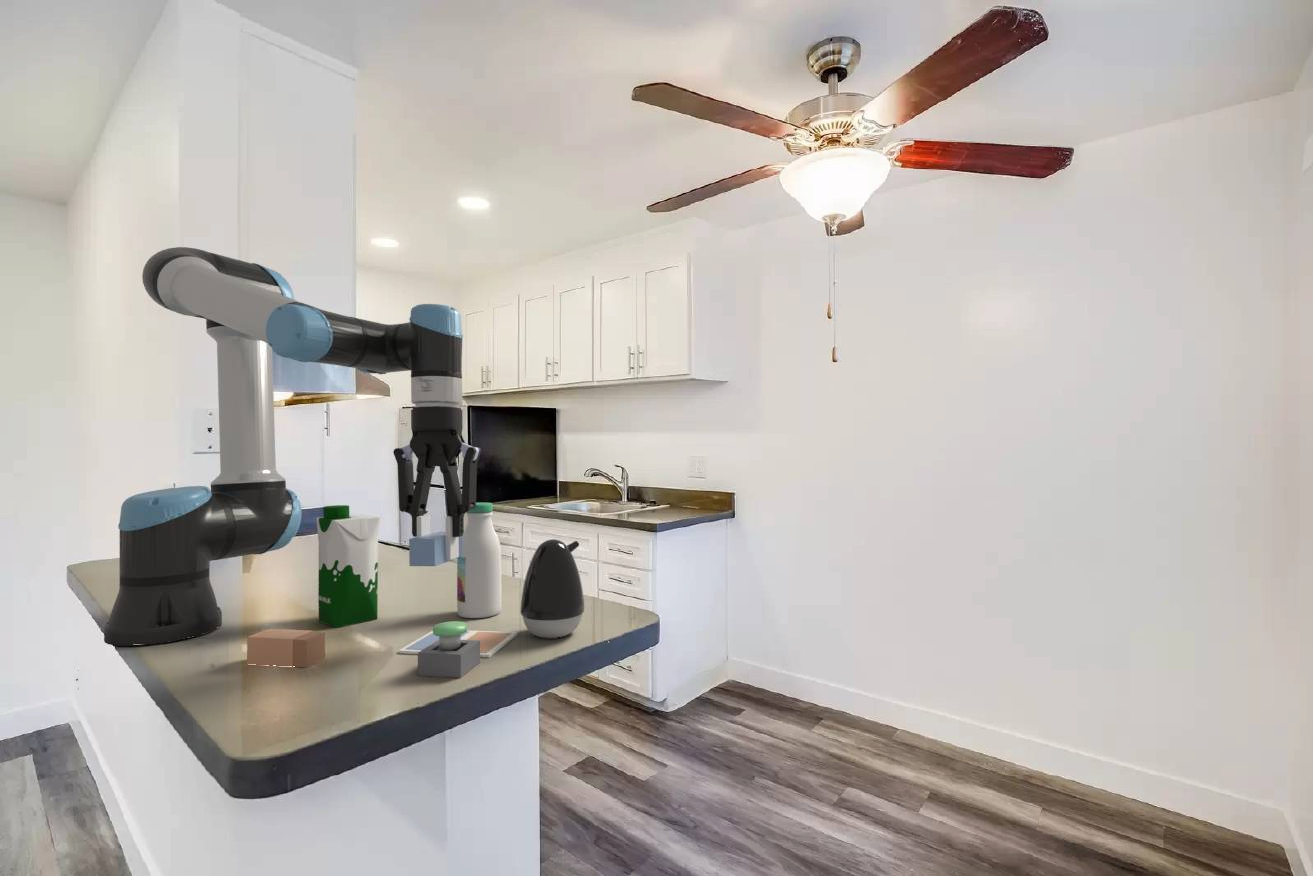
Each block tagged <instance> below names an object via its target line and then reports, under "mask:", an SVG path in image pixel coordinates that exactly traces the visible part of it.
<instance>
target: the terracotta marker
mask: <svg viewBox="0 0 1313 876" xmlns="http://www.w3.org/2000/svg"><path fill="white" fill-rule="evenodd" d="M325 659H326V632H325V631H314V630H309V629H307V630H306V629H305V630H304V629H302V630H301V629H285V628H284V629H282V628H281V629H280V628H267V629H265V630H261V631H260V632H257V633H255V634H251V635H249V636H247V637H246V665H247V664H256V665H269V666H273V665H276V666H292V667H293V666H295V667H303V668H302V669H308V668H310V667H312V666H314V665H316V664H317V663H320V662H322V661H324V660H325ZM309 666H310V667H309ZM307 667H308V668H307ZM293 668H294V667H293Z"/></svg>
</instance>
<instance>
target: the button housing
mask: <svg viewBox="0 0 1313 876" xmlns="http://www.w3.org/2000/svg"><path fill="white" fill-rule="evenodd" d="M480 663H481V657H480V641H476V640H461V646H460V647H459V648H456V649H451V650H443V649H440V648H439V640H437V641H436V642H434V643H433V644H431V645H429V646H428V647H426V648H425V649H423V650H421V651H420V652H418V654H417V676H419V677H420V676H422V677H437V678H438V677H439V678H441V677H442V678H456V679H457V678H459V679H461V678H463V677H465V675H466V674H467V673H470V671H471V670H473V669H474V668H475V667H476V666H477V665H479V664H480Z"/></svg>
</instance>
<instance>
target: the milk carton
mask: <svg viewBox="0 0 1313 876" xmlns="http://www.w3.org/2000/svg"><path fill="white" fill-rule="evenodd" d="M322 509H323V511H322V512H323V514H322V515H323V516H322V517H320V516H319V517H316V519H315V520H316V528H317V529H316V531H317V539H318V585H317V586H318V595H317V596H318V597H317V598H318V600H317V601H318V622H321V623H324V624H327V625H328V626H331V627H333V628H341V627H346V626H351V625H357V624H361V623H366V622H371V621H373V620H378V603H379V602H378V593H379V592H378V591H379V589H378V588H379V587H378V586H379V585H378V578H379V577H378V576H379V574H378V573H379V571H378V570H379V569H378V568H379V567H378V566H379V565H378V564H379V562H378V561H379V558H378V557H379V534H380V533H379V532H380V524H381V523H380V522H381V516H374V515H369V514H368V515H365V514H354V515H353V514H352V515H351V514H350V505H345V504H344V505H343V504H341V505H325V506H323V507H322Z"/></svg>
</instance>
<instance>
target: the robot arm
mask: <svg viewBox="0 0 1313 876" xmlns="http://www.w3.org/2000/svg"><path fill="white" fill-rule="evenodd" d="M142 284H143V286H144V290H145V291H146V293H147V294H148V296H149V297H150V299H152V300H153V301H154V302H155V303H156V304H158V305H159V306H161V307H163V308H164V309H166V310H169V311H172V312H175V313H177V314H180V315H182V316H188V317H195V318H199V319H205V325H206V331H205V332H206V334H207V335H208V336H210V337H211V338H212V339H213V340H214V341H215V342H216V352H217V353H216V354H217V355H216V356H217V360H216V361H217V389H218V391H217V393H218V395H217V396H218V398H217V399H218V426H219V432H218V433H219V461H220V462H219V466H220V467H219V468H220V469H219V470H220V472H219V475H217V476H216V477H215V478H214V479H213V480H212V481H211V482H210V488H209V486H206V485H205V486H203V485H192V486H191V485H188V486H182V487H181V486H180V487H171V488H170V487H169V488H162V489H157V490H150V491H145V492H141V493H138V494H137V493H136V494H134V495H131V496H129V497H127V498H126V499H125V500H124V501H123V502H122V504H121V506H120V515H119V516H120V517H119V523H118V529H119V589H118V593H117V596H116V598H115V601H114V603H113V607H112V609H111V613H110V616H109V620H108V621H107V622H106V623H105V624H104V628H103V629H104V630H103V637H104V638H103V642H104V643H105V644H107V645H111V646H116V647H117V646H118V647H134V646H133V644H150V645H157V643H159V644H164V643H163V642H166V643H170V642H169V641H172V642H177V640H178V641H181V640H180V639H183V638H187V639H189V638H188V637H191V638H193V637H192V636H195V637H199V636H202V635H204V634H203V633H206V632H208V633H211V632H213V631H215V630H214V629H216V628H217V627H219V628H221V626H222V625H221V624H223V623H222V622H223V621H222V619H223V618H222V617H223V611H222V609H221V607H220V606H218V603H217V599H216V598H217V597H216V595H215V593H214V589H213V586H212V584H211V580H210V562H212V561H219V560H225V559H232V558H238V557H243V556H250V555H263V554H265V553H267V552H273V551H276V550H280V549H283V548H284V547H287V546H288V544H290V542H291V541H292V539H294V538H295V536H296V535H297V532H298V531H299V528H300V526H301V522H302V511H303V510H302V505H301V501H300V500H299V499H298V496H297V494H296V493H295V492H294V491H293V490H291V489H288V488H287V486H286V483H287V482H286V478H285V477H283V476H282V475H281V474H280V473H279V472H278V471H277V464H276V463H277V462H276V461H277V460H276V437H275V435H276V433H275V430H276V429H275V404H274V403H275V402H274V401H275V400H274V372H273V371H274V370H273V369H274V368H273V367H274V364H273V353H274V354H276V355H277V356H279V357H281V358H285V359H290V360H294V361H297V362H301V363H316V364H325V365H326V364H327V365H332V366H333V365H335V366H339V367H345V368H352V369H357V370H358V371H360V372H361V373H364V374H376V375H377V374H378V375H386V374H388V373H398V372H406V371H407V372H408V371H410V393H411V395H410V397H411V398H410V399H411V401H410V402H411V404H413V405H414V407H412V409H411V410H410V428H411V433H412V437H411V439H410V441H409V444H407V445H405V446H403V447H395V448H394V449H393V455H394V458H395V461H396V463H397V465H396V466H397V481H398V482H397V484H398V486H397V487H398V488H397V489H398V503H399V504H398V506H399V511H400V512H401V513H407V514H409V515H410V517H411V534H412V536H413V537H412V538H415V537H419V536H423V535H427V534H431V515H430V514H428V512H429V511H428V510H427V505H428V499H429V495H430V489H431V483H432V477H433V473H434V472H435V469H436V467H439V470H440V471H439V472H441V474H442V478H443V482H444V487H445V492H446V497H447V503H448V507H449V508H448V509H449V512H450V513H447V514H448V516H445V532H446V560H451V561H453V560H452V559H454V558H457V559H458V557H459V537H460V536H463V533H464V531H465V530H464V529H465V527H464V524H465V523H464V517H465V514H467V512H470V511H472V510H475V508H476V503H477V481H478V480H477V478H478V477H477V476H478V461H479V459H480V455H481V453H482V449H481V447H478V446H471V445H469V444H467V443H466V442H465V441H466V440H465V439H464V437H463V430H464V429H463V426H464V425H463V409H462V408H461V407H459V406H460V405H462V404H463V402H464V401H463V375H462V371H463V370H462V368H463V365H462V361H463V338H464V335H463V329H462V317H461V316H462V315H461V313H460V311H459V310H458V309H456V308H454V307H453V306H450V305H445V304H439V303H437V304H436V303H421V304H420V303H419V304H417V305H415V306H413V307H412V308H411V309H410V317H409V319H408V320H409V321H408V322H404V323H395V324H387V323H381V322H376V321H371V320H369V319H368V320H366V319H362V318H358V317H353V316H347V315H344V314H340V313H336V312H331V311H328V310H324V309H321V308H319V307H315V306H313V305H310V304H306V303H304V302H301V301H299V300H296V299H295V296H294V292H293V288H292V287H291V285H290V283H289V282H288V280H287V279H286V278H285V277H283V275H282V274H281V273H279V272H278V271H276V270H274V269H270V268H268V267H266V266H264V265H261V264H259V263H256V262H248V261H245V260H240V259H235V258H233V257H229V256H225V255H222V254H217V253H213V252H208V251H206V250H204V249H200V248H199V249H198V248H194V247H188V246H176V247H170V248H165V249H162V250H160V251H157V252H156V253H155V254H153V255H151V256H150V258H148V260H147V261H146V263H145V264H144V266H143V270H142ZM461 453H462V454H461ZM460 454H461V456H462V458H463V461H462V474H461V475H462V477H461V478H462V479H461V480H462V481H461V483H462V484H460V479H459V474H458V470H459V468H458V467H459V465H458V461H457V459H458V457H459V456H460ZM414 455H415V457H416V458H417V464H416V467H415V468H416V472H417V473H416V477H415V478H414V462H413V458H414ZM414 479H415V480H414ZM454 560H455V559H454ZM217 629H218V628H217ZM217 629H216V630H217ZM212 630H213V631H212ZM210 631H211V632H210ZM201 634H202V635H201ZM206 634H207V633H206ZM198 635H199V636H198ZM183 640H184V639H183Z"/></svg>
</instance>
